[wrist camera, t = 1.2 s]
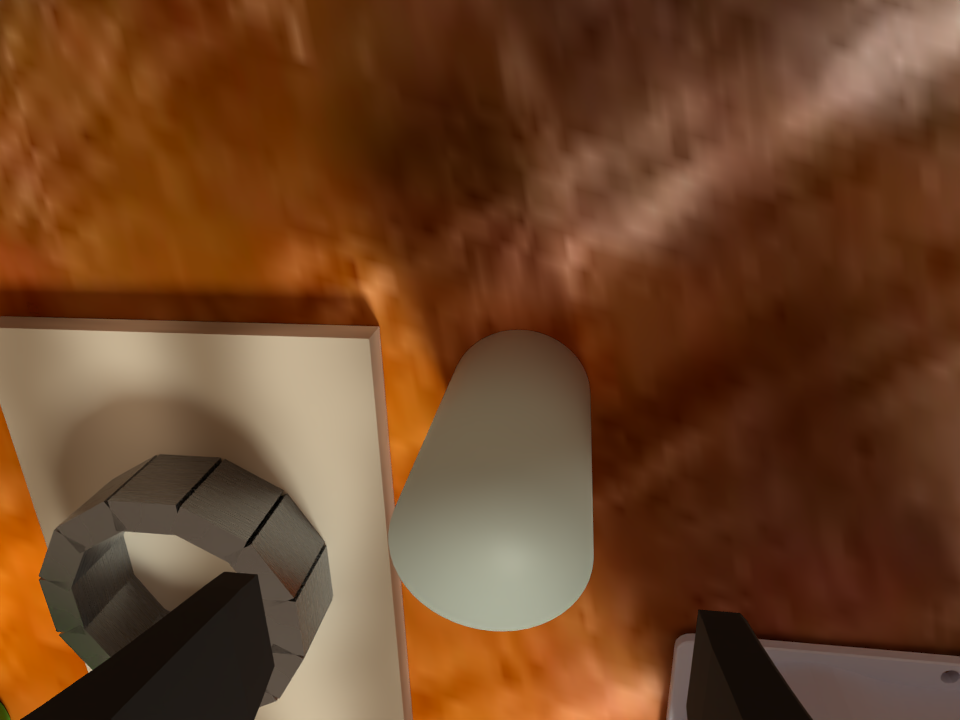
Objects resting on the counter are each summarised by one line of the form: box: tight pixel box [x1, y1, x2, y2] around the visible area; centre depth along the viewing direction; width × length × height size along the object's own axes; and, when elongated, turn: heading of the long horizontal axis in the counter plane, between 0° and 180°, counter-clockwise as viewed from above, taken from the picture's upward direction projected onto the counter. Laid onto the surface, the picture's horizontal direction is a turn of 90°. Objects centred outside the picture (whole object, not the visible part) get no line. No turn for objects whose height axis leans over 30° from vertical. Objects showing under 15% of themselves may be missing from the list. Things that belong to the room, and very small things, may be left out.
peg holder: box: [0, 316, 413, 720], centre depth 23 cm, size 12×22×4 cm, turn 1°
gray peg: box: [388, 330, 594, 631], centre depth 16 cm, size 4×4×7 cm
